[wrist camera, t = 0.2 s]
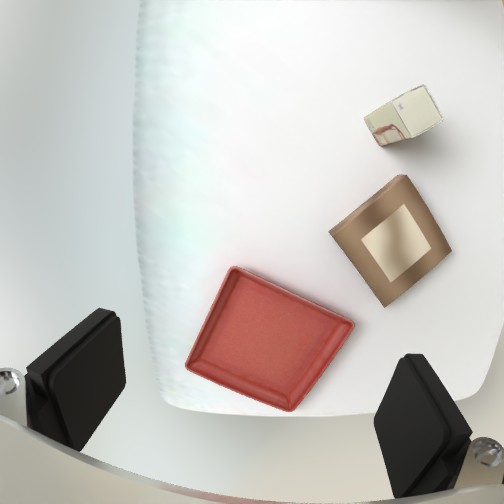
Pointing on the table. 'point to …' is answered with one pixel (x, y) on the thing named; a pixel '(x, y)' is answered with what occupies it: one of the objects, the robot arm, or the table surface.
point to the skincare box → (404, 117)
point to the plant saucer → (266, 341)
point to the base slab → (392, 239)
